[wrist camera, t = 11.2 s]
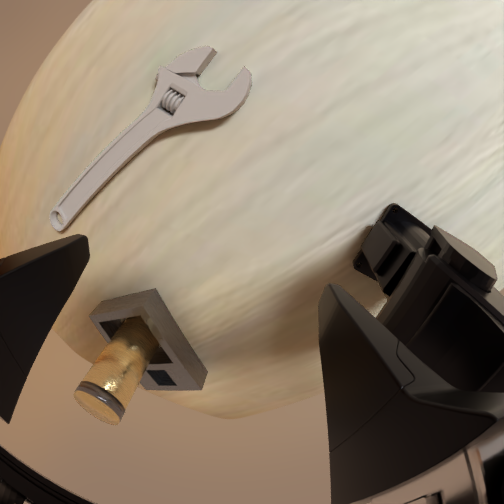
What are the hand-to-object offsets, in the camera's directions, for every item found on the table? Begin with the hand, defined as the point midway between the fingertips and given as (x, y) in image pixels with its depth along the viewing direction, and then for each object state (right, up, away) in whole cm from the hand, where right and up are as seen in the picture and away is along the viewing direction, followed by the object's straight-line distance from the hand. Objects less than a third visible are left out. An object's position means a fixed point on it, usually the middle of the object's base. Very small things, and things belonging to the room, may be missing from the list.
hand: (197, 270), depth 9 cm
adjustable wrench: (-10, +10, +12) cm, 18 cm away
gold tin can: (-10, -8, +20) cm, 24 cm away
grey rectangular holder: (-10, -10, +21) cm, 25 cm away
